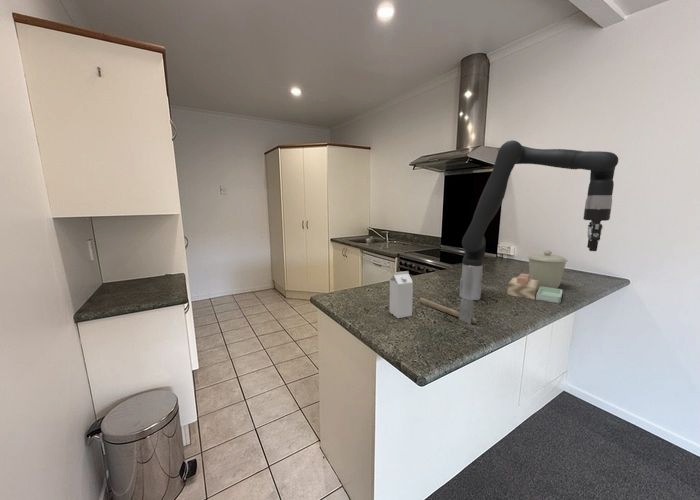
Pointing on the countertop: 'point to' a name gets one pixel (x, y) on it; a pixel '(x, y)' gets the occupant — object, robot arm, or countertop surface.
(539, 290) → the bin
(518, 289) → the zigzag patterned block
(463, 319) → the long-handled mallet
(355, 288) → the countertop surface
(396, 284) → the milk carton
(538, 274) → the canister
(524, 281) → the terracotta tile
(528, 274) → the terracotta tile
